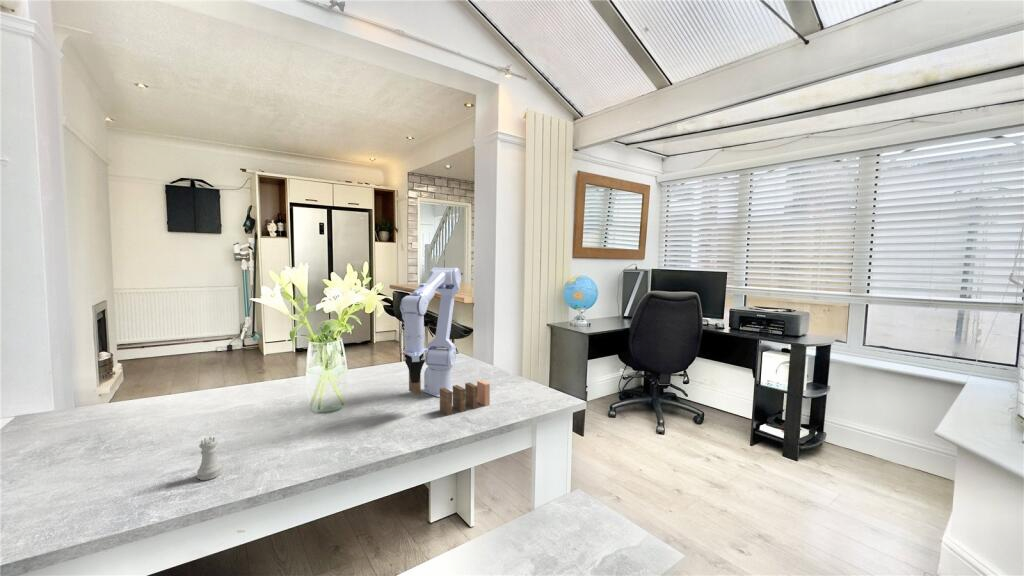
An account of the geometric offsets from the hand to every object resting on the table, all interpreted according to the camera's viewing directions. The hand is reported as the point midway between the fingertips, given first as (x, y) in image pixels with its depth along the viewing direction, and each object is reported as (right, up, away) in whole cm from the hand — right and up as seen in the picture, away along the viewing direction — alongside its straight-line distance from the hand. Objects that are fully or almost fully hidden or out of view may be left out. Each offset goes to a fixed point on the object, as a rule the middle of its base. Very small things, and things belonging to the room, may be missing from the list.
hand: (414, 379), depth 124 cm
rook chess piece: (-35, -13, -36) cm, 52 cm away
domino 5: (+20, -10, +9) cm, 24 cm away
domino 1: (0, -4, 0) cm, 4 cm away
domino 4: (+17, -10, +6) cm, 20 cm away
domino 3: (+13, -10, +4) cm, 17 cm away
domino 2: (+9, -10, +1) cm, 14 cm away
